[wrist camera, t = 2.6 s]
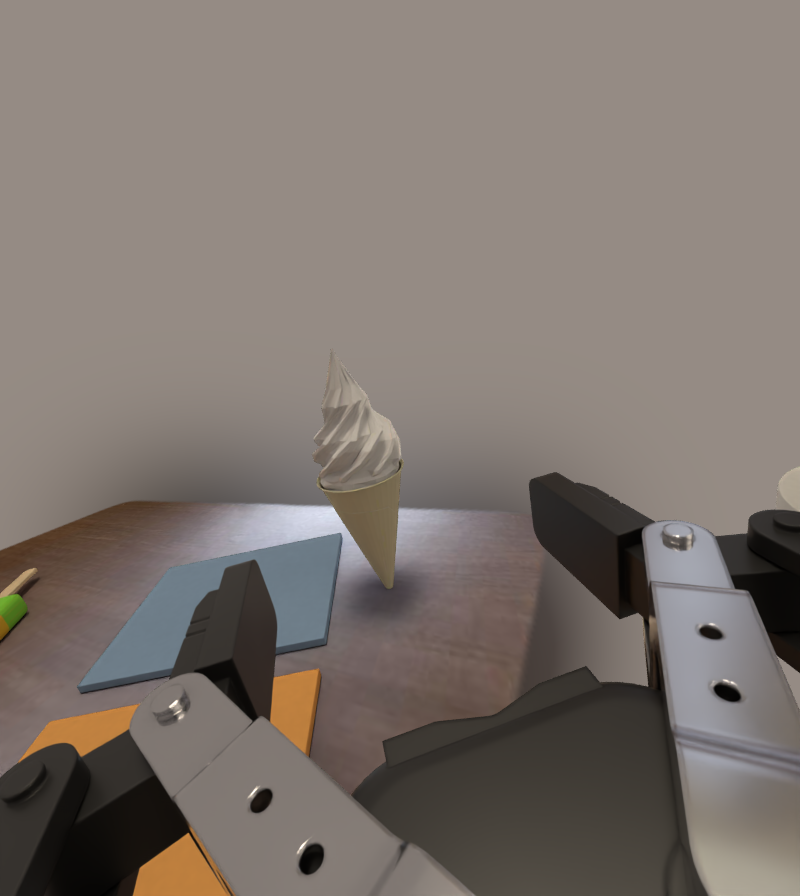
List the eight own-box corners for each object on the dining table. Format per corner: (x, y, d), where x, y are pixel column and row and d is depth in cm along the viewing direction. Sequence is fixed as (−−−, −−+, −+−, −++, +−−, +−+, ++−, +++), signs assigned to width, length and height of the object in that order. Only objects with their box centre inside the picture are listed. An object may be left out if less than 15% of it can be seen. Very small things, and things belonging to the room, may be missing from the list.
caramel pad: (321, 675, 21) (318, 668, 21) (266, 1034, 11) (260, 1025, 11) (53, 728, 22) (49, 720, 21) (-248, 1126, 11) (-261, 1118, 11)
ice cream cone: (445, 578, 26) (397, 334, 21) (384, 629, 23) (312, 359, 18) (393, 553, 30) (341, 340, 25) (335, 593, 27) (263, 362, 22)
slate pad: (342, 537, 33) (341, 532, 33) (326, 644, 23) (323, 637, 23) (171, 572, 34) (169, 567, 34) (80, 693, 23) (76, 687, 23)
